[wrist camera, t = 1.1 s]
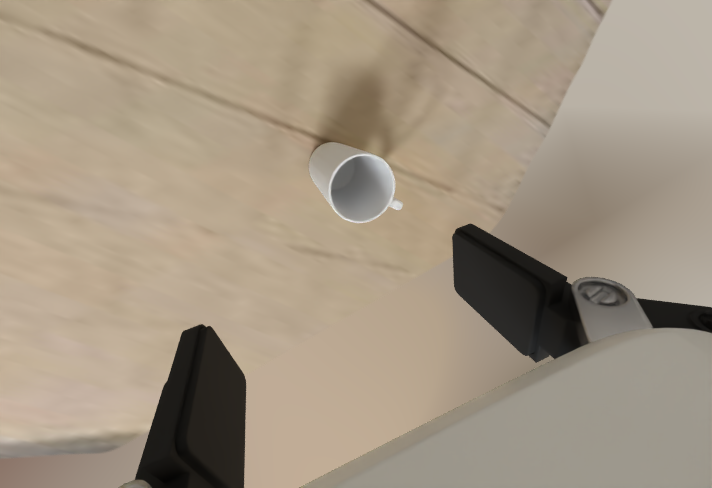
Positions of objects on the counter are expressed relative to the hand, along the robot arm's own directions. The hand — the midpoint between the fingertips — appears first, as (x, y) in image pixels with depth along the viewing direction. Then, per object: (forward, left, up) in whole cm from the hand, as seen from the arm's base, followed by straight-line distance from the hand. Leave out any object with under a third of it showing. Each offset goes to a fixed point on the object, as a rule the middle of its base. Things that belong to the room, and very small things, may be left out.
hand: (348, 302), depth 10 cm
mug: (-4, +7, -29) cm, 30 cm away
